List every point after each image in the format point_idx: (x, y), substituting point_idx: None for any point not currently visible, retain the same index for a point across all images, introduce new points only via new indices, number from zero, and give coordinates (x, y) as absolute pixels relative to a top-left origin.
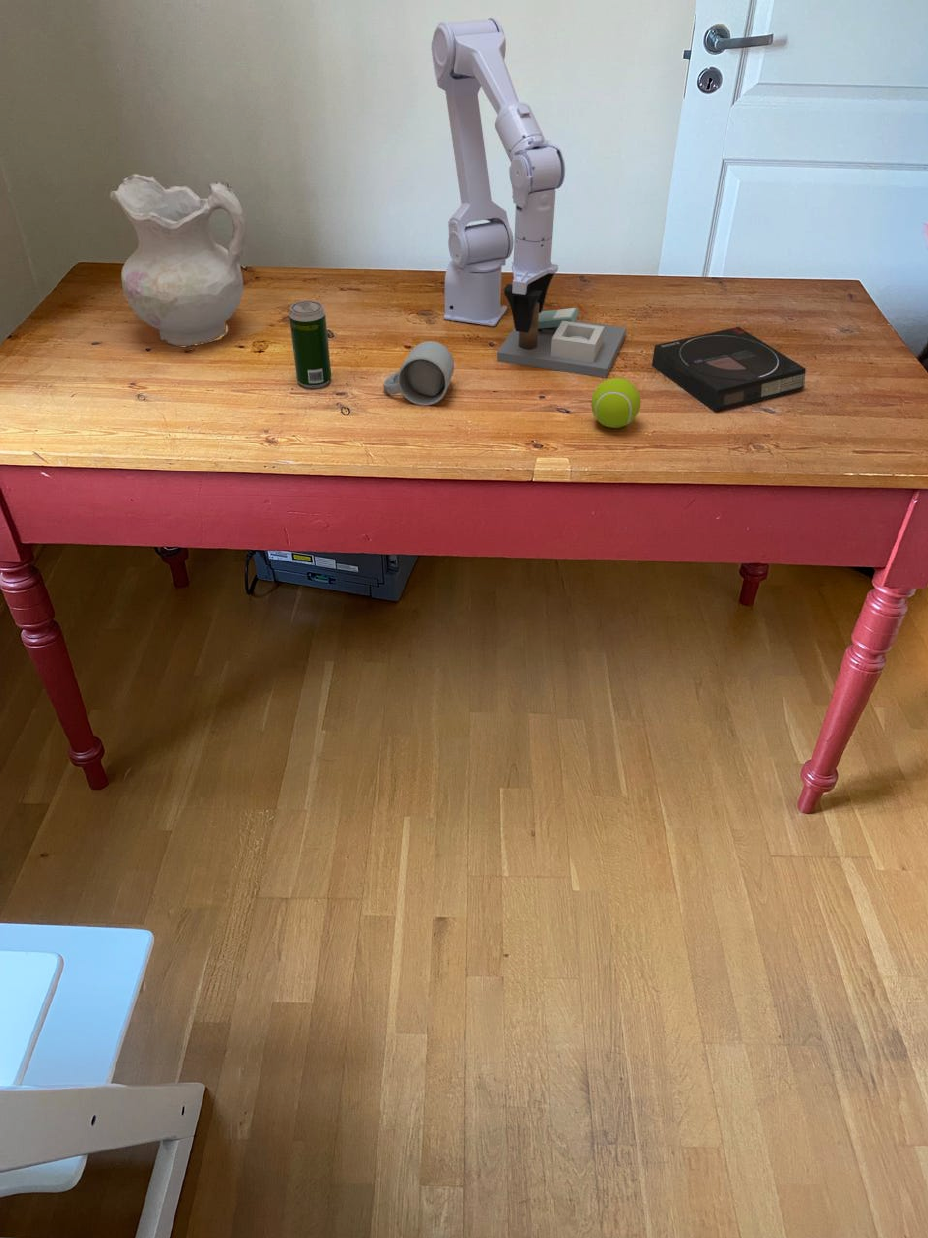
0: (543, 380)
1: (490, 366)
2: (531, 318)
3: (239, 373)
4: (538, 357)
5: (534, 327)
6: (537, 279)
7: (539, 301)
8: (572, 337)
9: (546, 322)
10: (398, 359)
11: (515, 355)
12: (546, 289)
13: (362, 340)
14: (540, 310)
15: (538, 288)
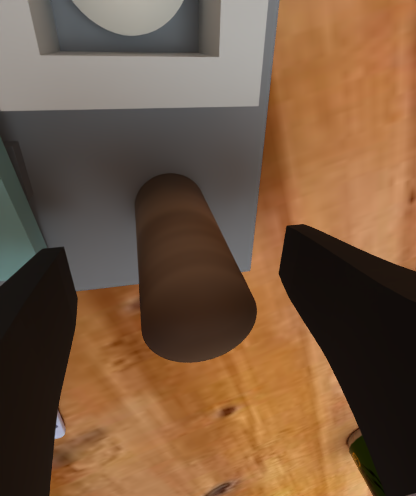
0: (344, 76)
1: (276, 256)
2: (357, 249)
3: (350, 483)
4: (255, 137)
5: (208, 218)
6: (16, 455)
7: (52, 295)
8: (91, 3)
9: (15, 197)
10: (281, 400)
11: (255, 217)
12: (10, 329)
13: (223, 460)
14: (63, 254)
15: (31, 374)
